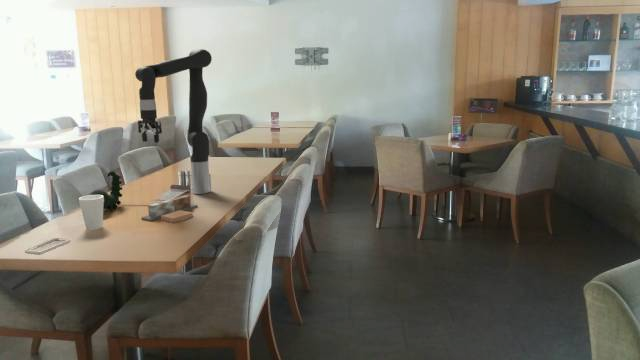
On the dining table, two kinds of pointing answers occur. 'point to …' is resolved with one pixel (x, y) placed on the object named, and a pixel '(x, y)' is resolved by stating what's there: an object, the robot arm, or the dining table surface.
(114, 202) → the toy figurine
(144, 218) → the rest mat
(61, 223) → the dining table surface
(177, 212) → the tile
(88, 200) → the foam cup
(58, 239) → the grey rectangular frame
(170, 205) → the pale rectangular box
